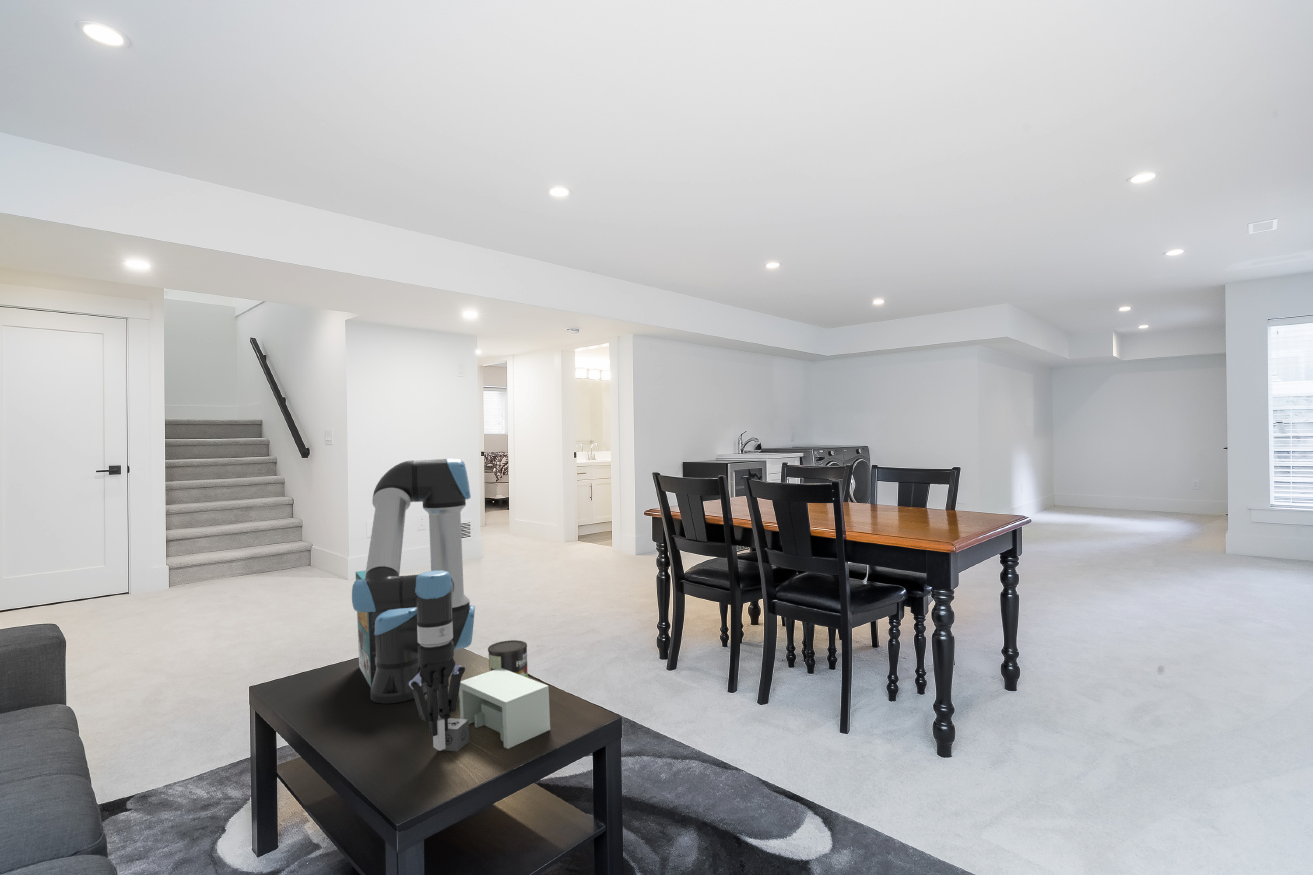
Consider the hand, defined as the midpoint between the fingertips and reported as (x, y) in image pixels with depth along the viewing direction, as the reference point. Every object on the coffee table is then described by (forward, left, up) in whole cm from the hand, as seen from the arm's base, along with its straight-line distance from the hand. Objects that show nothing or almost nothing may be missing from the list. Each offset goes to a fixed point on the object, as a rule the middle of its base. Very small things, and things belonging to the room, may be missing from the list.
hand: (439, 747), depth 144 cm
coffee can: (-14, +28, -2) cm, 31 cm away
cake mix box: (-62, +13, -2) cm, 63 cm away
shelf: (0, +17, -2) cm, 17 cm away
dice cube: (-1, +4, -2) cm, 5 cm away
